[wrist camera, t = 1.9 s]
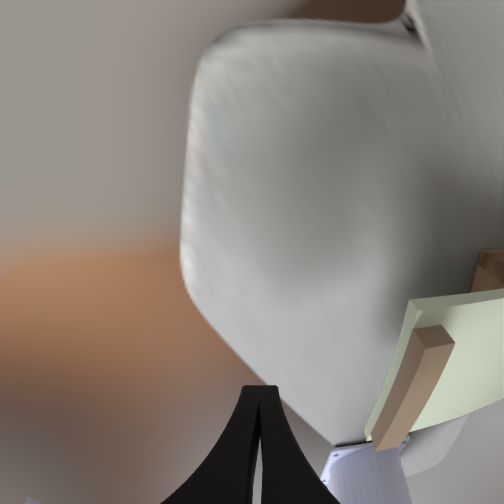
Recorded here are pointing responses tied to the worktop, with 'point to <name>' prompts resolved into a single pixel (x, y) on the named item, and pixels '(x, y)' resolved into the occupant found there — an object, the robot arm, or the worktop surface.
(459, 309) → the wood-edged cream panel
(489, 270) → the pencil box
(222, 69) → the worktop surface
